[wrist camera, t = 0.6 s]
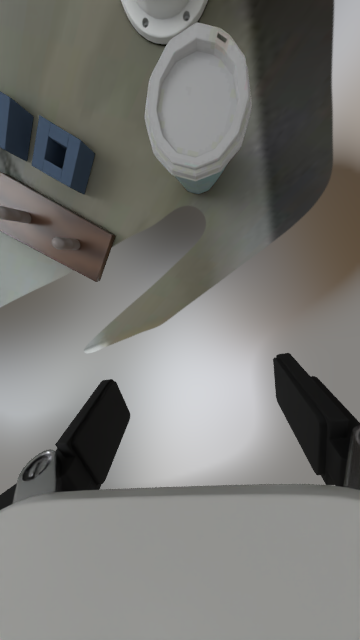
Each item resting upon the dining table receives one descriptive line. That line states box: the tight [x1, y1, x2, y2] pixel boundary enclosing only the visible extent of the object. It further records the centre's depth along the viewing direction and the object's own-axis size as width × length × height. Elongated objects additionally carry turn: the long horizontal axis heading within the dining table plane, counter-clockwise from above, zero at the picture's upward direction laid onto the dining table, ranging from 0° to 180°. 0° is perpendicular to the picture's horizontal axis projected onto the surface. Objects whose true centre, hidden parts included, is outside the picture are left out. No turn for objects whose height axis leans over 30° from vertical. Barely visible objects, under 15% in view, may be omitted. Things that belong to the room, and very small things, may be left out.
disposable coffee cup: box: [144, 22, 252, 194], centre depth 23 cm, size 11×11×15 cm
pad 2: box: [32, 115, 95, 194], centre depth 30 cm, size 7×7×4 cm
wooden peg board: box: [0, 172, 115, 282], centre depth 32 cm, size 10×22×7 cm, turn 62°
